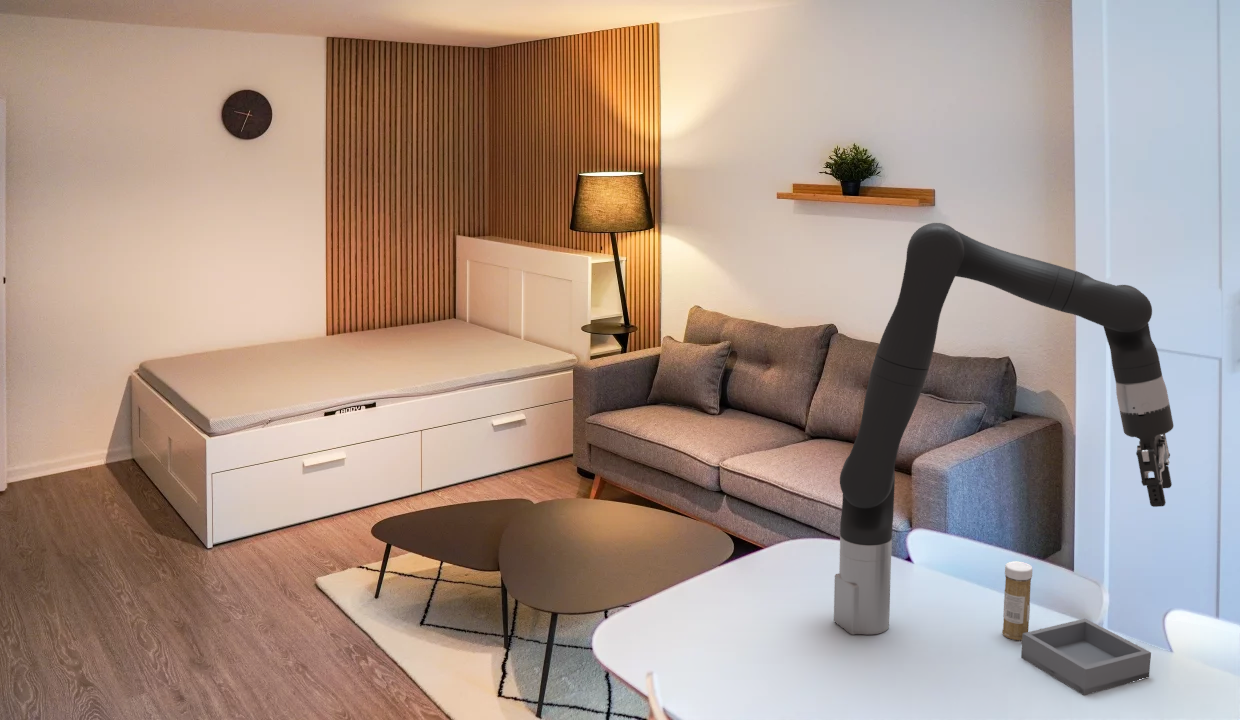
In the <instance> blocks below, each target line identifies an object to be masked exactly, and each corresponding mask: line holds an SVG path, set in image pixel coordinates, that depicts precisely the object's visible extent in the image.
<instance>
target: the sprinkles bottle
mask: <svg viewBox="0 0 1240 720" xmlns="http://www.w3.org/2000/svg"><path fill="white" fill-rule="evenodd" d="M1004 576H1005V581H1004V582H1005V584H1004V596H1003V597H1004V599H1003V615H1002V616H1003V624H1002V625H1003V626H1002V630H1001V631H1002V635H1003V636H1004V637H1006V638H1007V639H1009V640H1015V641H1022V634H1023V633H1026V632H1029V625H1030V624H1029V623H1030V613H1031V604H1030V603H1031V584H1032V583H1031V582H1032V581H1031V580H1032V578H1033V566H1032V565H1031V564H1029V563H1026V562H1023V561H1009V562H1007V563H1005V565H1004Z"/></svg>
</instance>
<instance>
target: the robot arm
mask: <svg viewBox="0 0 1240 720" xmlns="http://www.w3.org/2000/svg"><path fill="white" fill-rule="evenodd" d="M907 244H908V245H907V248H906V261H905V266H904V273H903V277H902V281H901V288H900V290H899V291H900V292H899V295H898V299H897V301H896V304H895V307H894V310H893V312H892V314H891V316H890V319H889V320H888V322H887V324H886V326H885V329H884V331H883V333H882V336H881V339H880V342H879V345H878V347H877V349H876V353H875V357H874V360H873V363H872V367H871V370H870V374H869V376H868V377H869V378H868V382H867V383H868V384H867V387H866V392H865V396H864V402H863V408H862V414H861V415H862V416H861V420H860V421H861V422H860V426H859V428H858V433H857V436H856V438H855V440H854V443H853V445H852V448H851V451H850V453H849V455H848V456H847V458H846V459H845V461H844V462H843V463H844V464H843V466H842V469H841V472H840V475H839V485H840V490H841V492H842V505H841V513H840V514H841V516H840V521H839V522H840V525H839V531H840V532H839V535H840V536H839V537H840V538H839V567H838V568H839V572H838V573H836V574H835V575H834V592H833V593H834V595H833V596H834V598H833V622H834V621H835V622H836V623H837V625H838V624H839V625H840V626H839V625H838V626H839V627H841V628H842V629H843V628H844V631H846V632H847V633H849V634H850V635H867V636H868V635H870V636H871V635H877V634H881V633H884V632H886V631H887V630H888V629H889V628H890V616H891V615H890V611H891V610H890V609H891V608H890V607H891V605H890V604H891V575H892V572H891V571H892V548H893V547H892V545H893V544H892V543H893V542H892V540H893V523H894V513H895V512H894V509H895V508H894V506H895V504H894V503H895V484H896V481H895V479H896V478H895V477H896V474H895V473H896V472H895V467H896V466H895V465H896V460H897V457H898V453H899V452H898V451H899V449H900V444H901V441H902V438H903V436H904V433H905V430H906V429H907V427H908V425H909V422H910V421H911V418H912V415H913V413H914V411H915V409H916V406H917V403H918V401H919V398H920V395H921V393H922V391H923V388H924V385H925V381H926V378H927V375H928V372H929V368H930V365H931V362H932V358H933V354H934V349H935V346H936V345H935V344H936V338H937V335H938V334H937V333H938V329H939V327H938V326H939V322H940V317H941V313H942V310H943V307H944V305H945V301H946V299H947V296H948V295H949V291H950V289H951V287H952V284H953V282H954V280H955V278H956V277H957V278H964V279H969V280H973V281H975V282H980V283H983V284H986V285H988V286H992V287H995V288H997V289H999V290H1000V291H1001V290H1002V291H1004V292H1006V293H1008V294H1011V295H1013V296H1016V297H1017V298H1020V299H1023V300H1025V301H1028V302H1031V303H1034V304H1036V305H1038V306H1042V307H1045V308H1049V309H1052V310H1055V311H1058V312H1061V313H1065V314H1066V313H1067V314H1070V315H1074V316H1077V317H1080V318H1083V319H1084V320H1087V321H1090V322H1092V323H1095V324H1097V325H1099V326H1101V327H1103V329H1104V334H1105V336H1106V340H1107V342H1108V346H1109V349H1110V357H1111V366H1112V371H1113V375H1114V380H1115V388H1116V389H1115V391H1116V392H1115V393H1116V399H1117V405H1118V409H1119V414H1120V415H1119V416H1120V419H1121V424H1122V431H1123V433H1124V435H1126V436H1127V437H1130V438H1137V439H1139V441H1138V445H1137V447H1136V452H1135V454H1136V456H1137V462H1138V467H1139V473H1140V479H1141V481H1140V482H1141V484H1142V486H1144V487H1145V486H1146V488H1147V489H1146V490H1147V493H1148V499H1149V505H1150V506H1151V507H1153V508H1157V507H1164V506H1166V498H1165V492H1164V489H1170V488H1171V487H1172V485H1173V484H1172V478H1171V474H1170V467H1169V464H1170V460H1169V459H1170V456H1171V453H1170V452H1169V446H1168V441H1167V436H1166V434H1167V433H1169V432H1171V431H1172V430H1173V429H1174V420H1173V415H1172V410H1171V405H1170V400H1169V395H1168V389H1167V387H1166V386H1167V385H1166V383H1165V380H1164V377H1163V373H1162V366H1161V364H1160V357H1159V353H1158V350H1157V347H1156V345H1155V344H1154V342H1153V340H1152V336H1151V331H1150V326H1149V325H1150V321H1151V318H1152V315H1153V307H1152V304H1151V301H1150V299H1149V298H1148V297H1147V296H1146V295H1145V294H1144V293H1142V292H1141V291H1140V290H1139V289H1138V288H1136V287H1135V286H1132V285H1128V284H1117V285H1115V284H1111V283H1109V282H1108V283H1107V282H1104V281H1100V280H1097V279H1094V278H1093V277H1091V276H1090V275H1087V274H1085V273H1083V272H1079V271H1077V270H1074V269H1070V268H1067V267H1063V266H1060V265H1057V264H1053V263H1051V262H1047V261H1046V262H1045V261H1042V260H1038V259H1035V258H1031V257H1027V256H1023V255H1019V254H1017V253H1016V254H1015V253H1012V252H1009V251H1006V250H1002V249H999V248H997V247H993V246H990V245H988V244H986V243H984V242H981V241H978V240H976V239H974V238H972V237H970V236H968V235H966V234H964V233H962V232H960V231H958V230H956V229H955V228H954V227H952V226H950V225H948V224H946V223H942V222H932V223H927V224H925V225H923V226H921V227H919V228H917V230H915V232H914V233H912V235H911V237H910V239H909V241H908V243H907ZM1149 473H1153V476H1154V477H1149ZM835 622H834V623H835ZM836 623H835V624H836Z"/></svg>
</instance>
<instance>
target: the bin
mask: <svg viewBox="0 0 1240 720" xmlns="http://www.w3.org/2000/svg"><path fill="white" fill-rule="evenodd" d="M1151 656H1152V652H1151V651H1149V650H1147V649H1146V648H1143V647H1142V646H1140V645H1137V644H1136V643H1134V642H1132V641H1130V640H1129V639H1126V638H1124V637H1122V636H1120V635H1118V634H1116V633H1114V632H1112V631H1110V630H1108V629H1106V628H1104V627H1103V626H1100V625H1099V624H1097V623H1094V622H1093V621H1091V620H1089V619H1087V618H1082V619H1078V620H1073V621H1069V622H1065V623H1061V624H1056V625H1051V626H1049V627H1044V628H1040V629H1039V628H1038V629H1036V630H1032V631H1028V632H1026V633H1023V634H1022V640H1021V653H1020V657H1021V659H1023V660H1024V661H1026V662H1028V663H1030V664H1031V665H1033V666H1035V667H1036V668H1038V669H1040V670H1041V671H1042V672H1044V673H1046V674H1047V675H1049V676H1051V677H1053V678H1054V679H1056V680H1058V681H1059V682H1061V683H1063V684H1064V685H1065V686H1068V687H1070V688H1071V689H1073V690H1074V691H1076V692H1077V693H1080V694H1081V695H1082V696H1086V695H1091V694H1095V693H1098V692H1101V691H1106V690H1108V689H1112V688H1117V687H1120V686H1125V685H1127V683H1128V684H1130V682H1131V683H1134V682H1133V681H1135V682H1138V681H1137V680H1139V679H1142V678H1146V677H1149V678H1150V671H1151V658H1152V657H1151ZM1146 679H1147V678H1146ZM1142 680H1143V679H1142ZM1139 681H1140V680H1139Z"/></svg>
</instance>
